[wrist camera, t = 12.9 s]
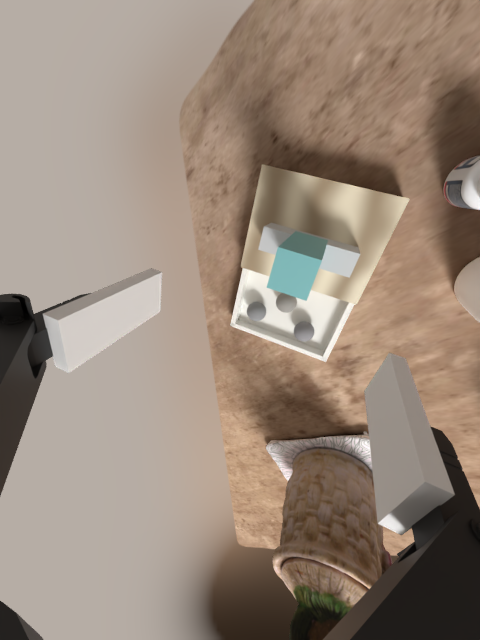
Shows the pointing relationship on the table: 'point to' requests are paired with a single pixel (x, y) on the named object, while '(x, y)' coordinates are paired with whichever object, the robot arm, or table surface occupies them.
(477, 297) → the cup
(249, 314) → the pebble
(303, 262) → the teal and white t-block
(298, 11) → the table surface
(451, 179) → the pill bottle
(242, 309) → the tray
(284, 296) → the pebble mid
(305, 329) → the pebble
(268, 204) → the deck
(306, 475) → the cookie jar
